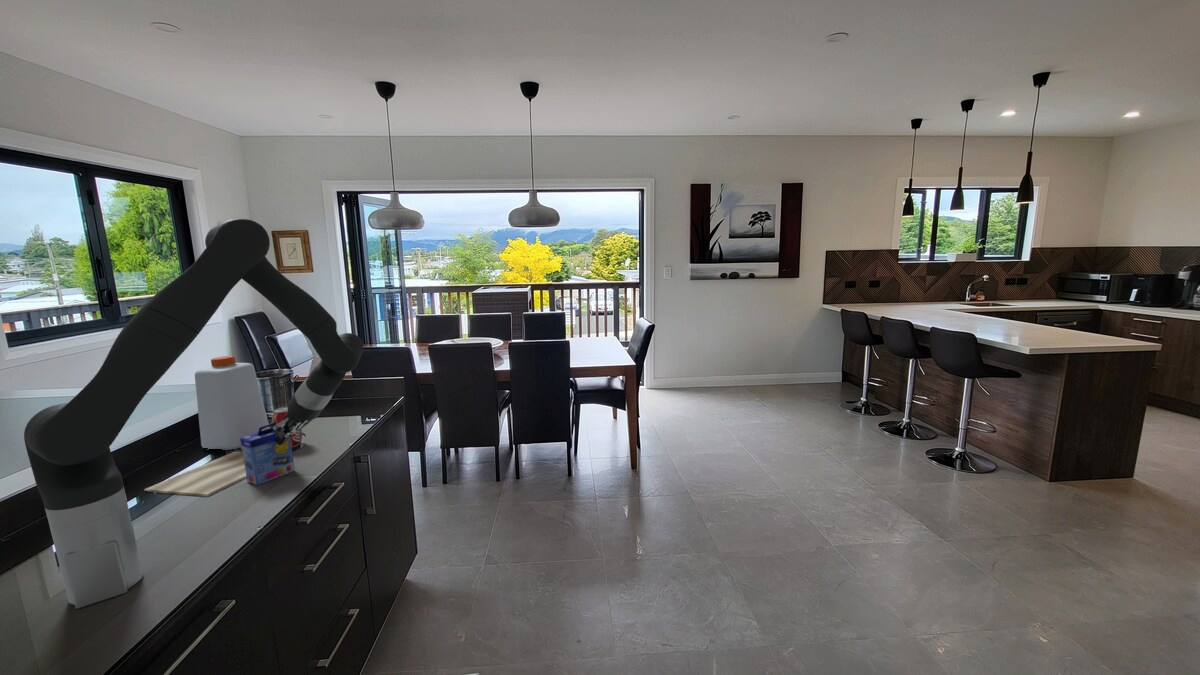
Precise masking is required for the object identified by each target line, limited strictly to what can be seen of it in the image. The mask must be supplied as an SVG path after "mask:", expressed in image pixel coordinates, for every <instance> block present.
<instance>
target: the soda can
mask: <svg viewBox="0 0 1200 675" xmlns="http://www.w3.org/2000/svg"><path fill="white" fill-rule="evenodd" d="M272 411H273V414H272V415H271V422H272V423H280V422H281V421H282V418H283V417H284V416H285V415H286V413H288V409H287V406H283V407H278V408H276V409H273V410H272ZM272 423H271V424H272ZM302 432H303V431H302V429H301V430H299V431H296V432H295V433H294V434H292V435H291V436H290V439H291V447H292V448H296V447H298V446H300V444H302V443H303V433H302Z"/></svg>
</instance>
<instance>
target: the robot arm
mask: <svg viewBox="0 0 1200 675" xmlns="http://www.w3.org/2000/svg"><path fill="white" fill-rule="evenodd" d="M270 242H271V241H270V236H269V234H268V232H267V230H266V228H264V227H263V226H262V225H261V224H260V223H259V222H256V221H254V220H253V219H248V218H231V219H228V220H226V221H223V222H221V223H219V224H217V225H215V226H214V227H212V228H211V229H210V230H209V231H208V232H207V233H206V236H205V243H204V244H205V248H204V250H203V251H202V252H201V254H200V255H199V257H198V258H197V259H196V260H195V261H194V262H193V263H192V265H190V266H189V267H188V268H187V269H186V270H185V271H183V272H182V273H181V274H180V275H177V277H175V278H174V279H173V280H172V281H170V282H169V283H168V284H166V285H165V286H164V287H162V289H160V290H158V292H157V293H155V294H154V295H153V296H152V297H151V298H150V299H148V301H147V302H146V303H145V304H144V305H143V306H142V307H141V308H140V309H139V310H138V311H137V312H136V313H135V314H134V315H133V317H131V318H130V319H129V321H128V322H127V323H126V324H125V326H123V328H122V329H121V330H120V332H119V333H118V335H117V337H116V339H115V340H114V342H113V344H112V345H111V347H110V350H109V351H108V353H107V355H106V357H105V359H104V360H103V363H102V365H101V367H100V368H99V370H98V371H97V372H96V374H95V375H94V376H93V377H92V379H91V380H90V381H89V382H88V383H87V384H86V385H84V387H83V388H82V389H81V390H80V391H79V392H78V393H77V394H76V395H75V396H74V397H73V398H72V399H71V400H70V401H69V402H66V403H58V404H53V405H51V406H48V407H46V408H43V409H42V410H39V411H38V412H37V413H36V414H34V415H33V416H32V417H31V418H30V419H29V420H28V422H27V423H26V425H25V428H24V430H23V439H24V445H25V449H26V453H27V457H28V461H29V464H30V467H31V470H32V475H33V477H34V481H35V484H36V488H37V490H38V491H39V494H40V496H41V499H42V503H43V506H44V510H45V514H46V518H47V520H48V521H47V522H48V524H49V525H48V526H49V530H50V533H51V537H52V540H53V541H52V542H53V544H54V549H55V553H56V556H57V560H58V565H59V569H60V573H61V576H62V581H63V584H64V588H65V592H66V595H67V598H68V599H67V600H68V603H69V604H70V605H73V606H75V609H76V610H77V609H81V608H84V607H86V606H90V605H93V604H96V603H98V602H101V601H105V600H108V599H111V598H114V597H117V596H121V595H123V594H125V593H128V592H129V589H130V588H132V587H133V586H135V585H136V584H137V583H138V582H140V580H142V578H143V577H144V571H143V567H142V561H141V559H140V558H141V557H140V553H139V549H138V545H137V541H136V537H135V535H136V534H135V532H134V527H133V522H132V519H131V514H130V510H129V504H128V500H127V495H126V492H125V491H126V490H125V487H124V481H123V477H122V473H121V472H120V470H119V469H118V467H117V464H116V463H115V460H114V457H113V455H112V451H111V448H110V446H111V445H112V444H113V443H114V441H116V438H117V437H118V436H119V435H120V433H121V431H122V430H123V428H124V426H125V425H126V424H127V423H128V420H129V419H130V418H131V416H132V415H133V414H134V411H135V410H136V408H137V407H138V405H139V404H140V403H141V401H142V400H143V399H144V397H145V396H146V395H147V393H148V392H149V391H150V390H151V389H152V388H153V387H154V386H155V385H156V384H157V382H159V380H160V379H162V377H163V376H164V375H165V374H166V372H168V370H170V368H172V365H173V364H174V363H175V362H176V361H177V360H178V359H179V358H180V356H181V355H182V354H184V352H185V351H186V350H187V349H188V347H189V346H190V345H191V344H192V343H193V342H194V340H195V339H196V338H197V337H198V335H199V334H200V333H201V331H203V329H204V327H205V326H206V325H207V323H208V322H209V321H210V320H211V318H212V317H213V316H214V314H215V313H216V312H217V310H218V309H219V308H220V306H221V305H222V303H223V302H224V300H225V298H226V297H228V295H229V293H230V292H231V291H232V289H234V287H235V286H236V285H237V284H238V283H239V282H240V281H241V280H242V281H244V282H245V283H247V284H248V285H249V286H250V287H251V288H253V289H255V291H257V292H258V293H259V294H260V295H262V296H263V297H264V298H265V299H266V300H267V301H268V302H270V303H271V304H272V305H273V306H274V307H275V308H276V309H277V310H278V311H279V312H280V313H282V315H283V316H284V317H286V319H288V320H289V322H290V323H291V324H293V325H294V327H296V329H297V330H299V332H301V333H302V334H303V335H304V336H305V337H306V338H307V339H308V340H309V342H310V344H311V345H312V347H313V348H314V350H315V352H316V353H317V355H318V357H319V358H320V361H319V363H318V364H317V365H316V366H315V367H314V369H313V370H312V371H311V372H310V374H309V375H308V376H307V378H306V379H305V380H304V381H303V382H302V383H301V384H300V385H299V387H298V388H297V390H296V391H295V393H293V395H292V396H291V398H290V399H289V401H288V402H287V404H286V405H287V406H286V407H287V409H288V413H286V415H285V416H284V417H283V418H282V421H281V422H280V423H270V424H271V427H270V428H272V429H273V431H274V432H275V433H276V434H277V436H276V438H275V440H274V441H275V442H276V443H277V444H278V445H282V444H284V443H285V442H286V441H287V440H288V438H289V437H290V436H291V435H292V434H294V433H295V432H296V431H299V430H301V431H302V430H303V428H305V427H306V426H307V425H308V424H309V423H310V422H312V421H313V420H315V419H317V418H318V416H319V415H320V414H321V413H322V412H323V410H324V409H325V407H326V406H327V405H328V403H329V402H330V400H331V399H332V398H333V395H334V393H335V392H336V390H337V389H338V388H340V386H341V384H342V383H343V381H344V379H345V377H346V374H347V373H350V372H352V371H353V370H355V368H356V367H357V365H358V364H359V361H360V359H361V356H362V354H363V351H364V342H363V340H362V339H361V337H359V336H358V335H357V334H355V333H350V332H345V333H342V334H340V335H339V333H338V331H337V322H336V320H335V318H334V317H333V316H332V315H331V314H330V313H329V311H327V310H326V309H325V308H324V307H323V306H322V305H321V303H320V302H318V300H317V299H315V298H314V297H313V296H312V295H310V293H308V292H307V291H305V290H304V289H303V288H301V287H300V286H298V285H297V284H295V283H294V282H292V281H291V280H289V279H288V278H287V277H286V276H285V275H283V274H282V273H281V272H280V271H279V270H278V269H277V268H275V266H274V265H273V264H272V263H271V261H269V259H268V258H267V257H266V256H267V255H268V252H269V250H270V244H271V243H270Z"/></svg>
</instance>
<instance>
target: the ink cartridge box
mask: <svg viewBox="0 0 1200 675" xmlns="http://www.w3.org/2000/svg"><path fill="white" fill-rule="evenodd" d="M271 424H272V423H269V425H266V426H263V427H260V428H259V431H258V433H254V434H251V435H248V436H245V437H242V438H240V441H241V446H242V448H241V452H243V457H244V464H245V470H246V476H247V478H246V482H249V483H251V484H253V485H255V486H258V485H261V484H264V483H266V482H269V481H272V480H275V479H276V478H280V477H282V476H284V474H285V475H287V474H290V473H292V472H291V471H293V472H295V464H294V455H293V449H292V447H291V439H290V437H289V438H288V440H287V441H286V442H285V443H284V444H282V445H278V444H277V443H276V442H275V441H274V440H275V438H276V436H277V434H276V433H275V432H274V431H273V429H272V428H271ZM266 427H270V428H269V429H266V430H263V431H261V430H262V429H264V428H266ZM289 472H290V473H289ZM286 473H287V474H286ZM279 476H280V477H279Z"/></svg>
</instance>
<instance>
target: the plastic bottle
mask: <svg viewBox="0 0 1200 675" xmlns="http://www.w3.org/2000/svg"><path fill="white" fill-rule="evenodd" d="M210 363H211V366H208V367H204V368H200V369H197V370H196V371H195V373H194V382H195V391H196V394H195V395H196V403H197V404H196V405H197V412H198V422H199V423H198V426H199V432H200V434H199V435H200V445H201V447H202V448H203V449H204V448H208V449H207V450H209V449H222V450H221V451H233V450H232V449H234V450H239V449H242V446H241V441H240V438H242V437H245V436H248V435H251V434H254V433H258V431H259V428H260V427H263V426H266V425H269V424H270V423H269V420H268V416H267V412H266V409H265V405H264V401H263V397H262V394H261V389H260V386H259V382H258V381H259V380H258V377H257V374H256V370H255V366H254V364H252V363H250V362H237V361H236V357H235V356H234V355H223V356H217V357H213V358H211V359H210ZM269 428H271V427H266V428H264V429H262V430H261V431H263V430H266V429H269ZM238 448H239V449H238Z"/></svg>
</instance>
